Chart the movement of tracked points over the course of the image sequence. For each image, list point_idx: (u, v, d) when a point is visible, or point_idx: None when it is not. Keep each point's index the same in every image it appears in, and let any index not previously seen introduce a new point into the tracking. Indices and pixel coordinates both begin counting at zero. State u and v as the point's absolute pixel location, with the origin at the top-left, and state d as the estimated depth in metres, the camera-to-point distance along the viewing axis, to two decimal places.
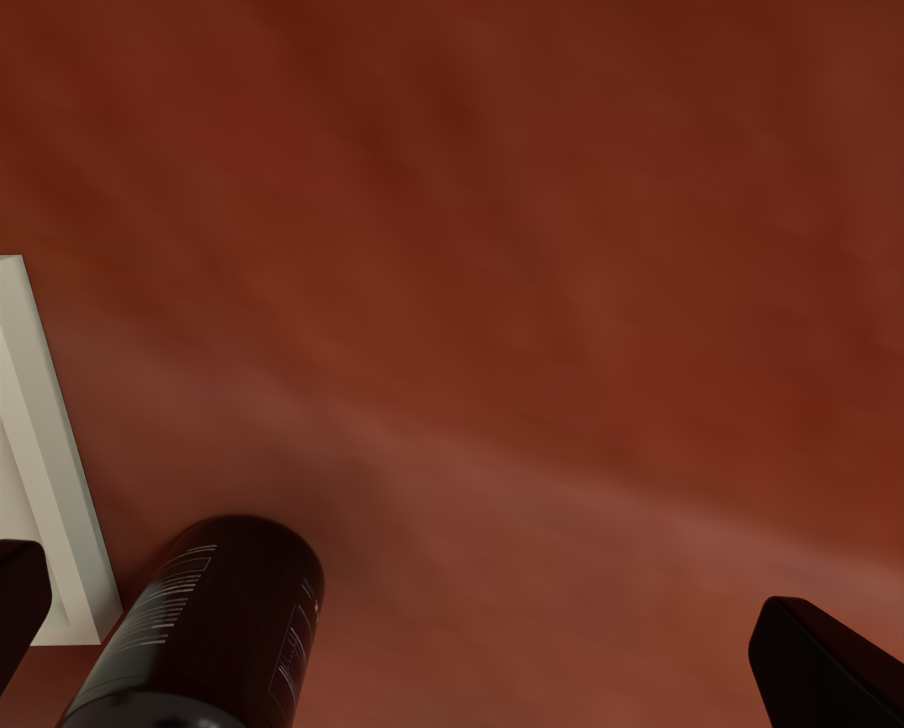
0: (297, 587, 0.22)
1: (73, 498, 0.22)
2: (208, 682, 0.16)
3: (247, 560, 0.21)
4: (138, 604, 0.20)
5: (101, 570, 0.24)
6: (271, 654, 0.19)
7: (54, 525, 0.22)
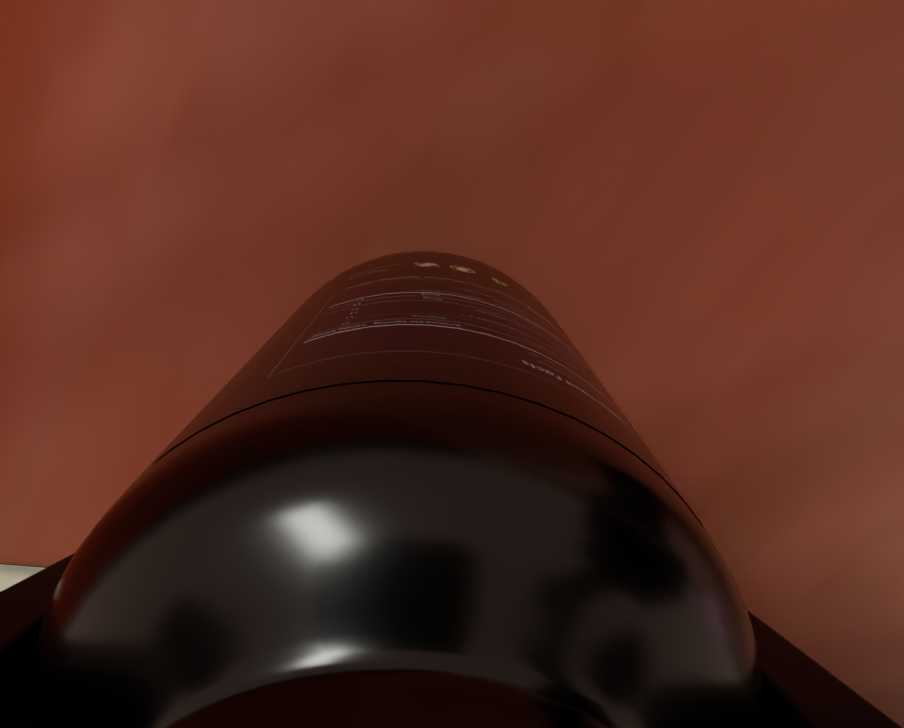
0: (333, 289, 0.10)
1: None
2: None
3: None
4: None
5: None
6: (270, 355, 0.07)
7: None
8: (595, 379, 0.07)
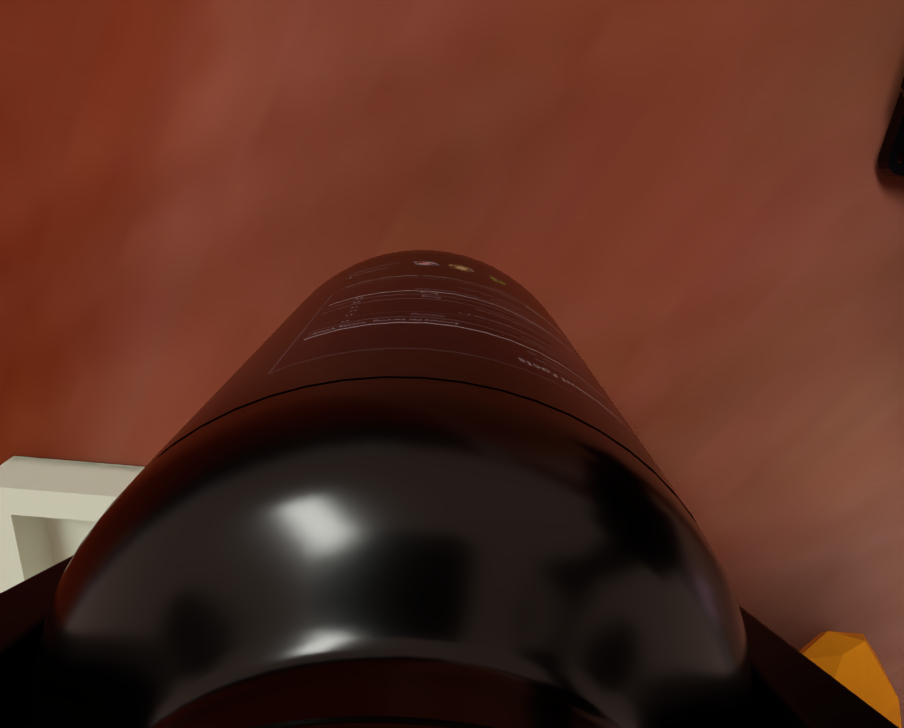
0: (333, 287, 0.10)
1: None
2: None
3: None
4: None
5: None
6: (270, 352, 0.07)
7: None
8: (591, 377, 0.08)
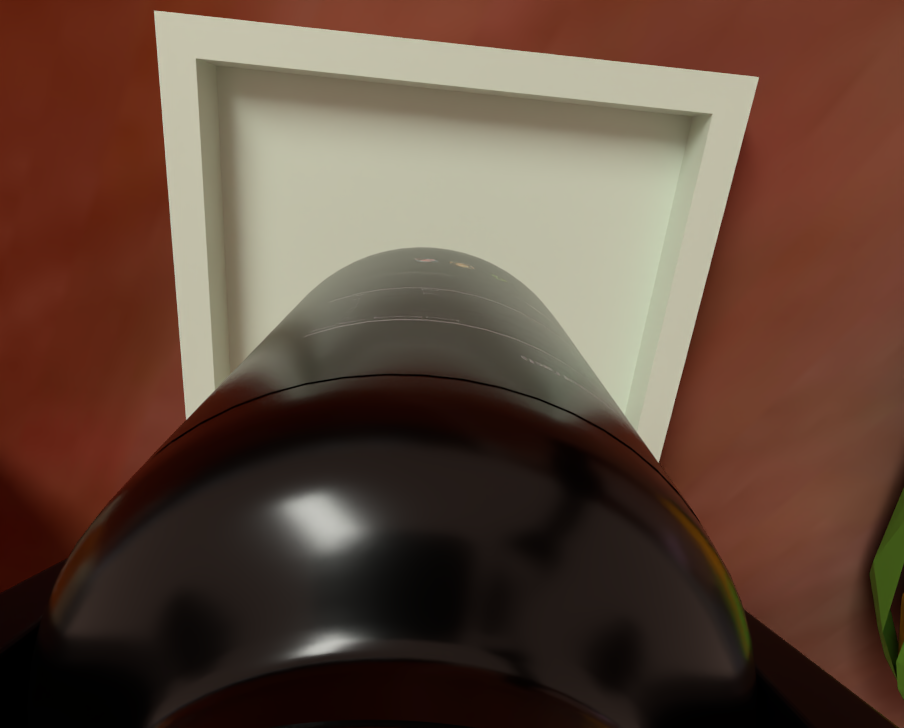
0: (333, 284, 0.10)
1: None
2: None
3: None
4: None
5: None
6: (270, 348, 0.07)
7: (534, 67, 0.15)
8: (593, 375, 0.08)
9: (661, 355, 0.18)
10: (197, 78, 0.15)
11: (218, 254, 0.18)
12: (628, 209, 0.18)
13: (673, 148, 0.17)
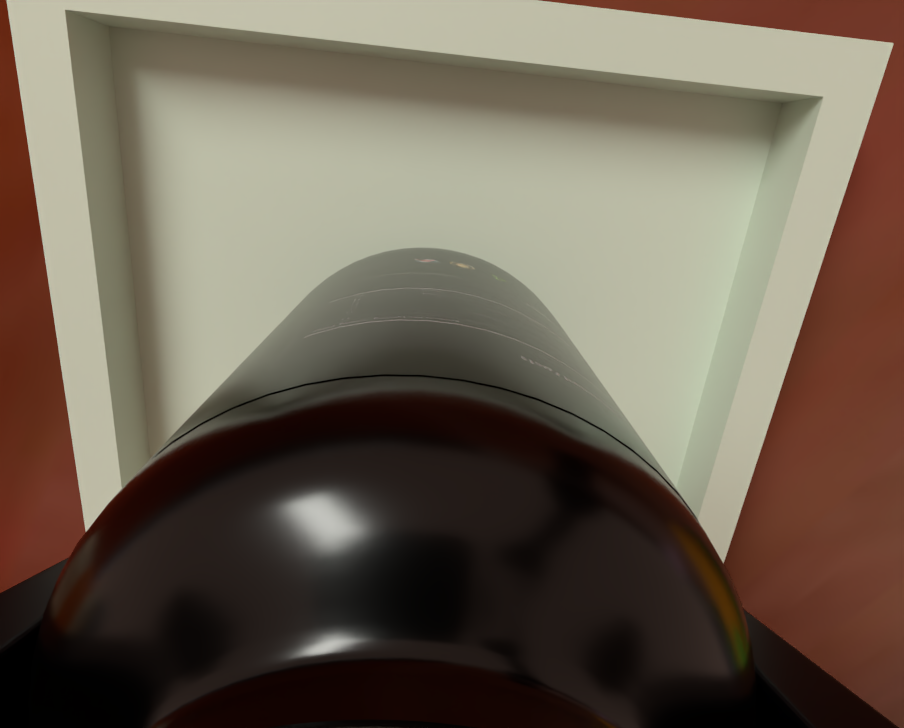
0: (333, 285, 0.10)
1: None
2: None
3: None
4: None
5: None
6: (271, 350, 0.07)
7: (567, 26, 0.10)
8: (593, 375, 0.08)
9: (732, 430, 0.13)
10: (69, 40, 0.10)
11: (121, 292, 0.13)
12: (689, 231, 0.13)
13: (753, 147, 0.12)
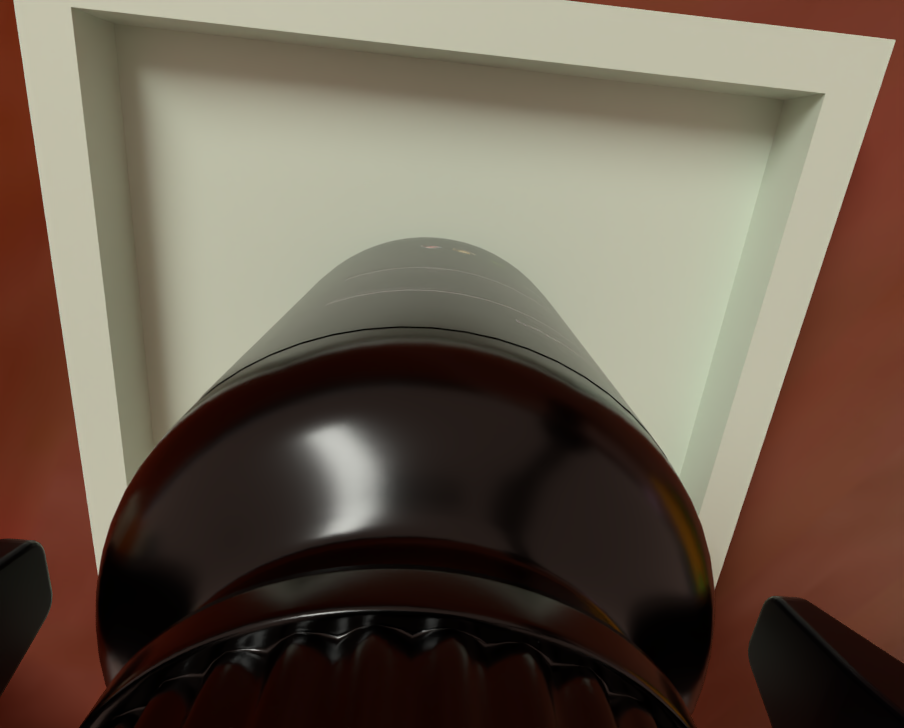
0: (345, 268, 0.10)
1: None
2: None
3: None
4: None
5: None
6: (294, 317, 0.07)
7: (570, 23, 0.10)
8: (581, 345, 0.08)
9: (734, 426, 0.13)
10: (75, 37, 0.10)
11: (126, 288, 0.13)
12: (690, 228, 0.13)
13: (755, 144, 0.12)
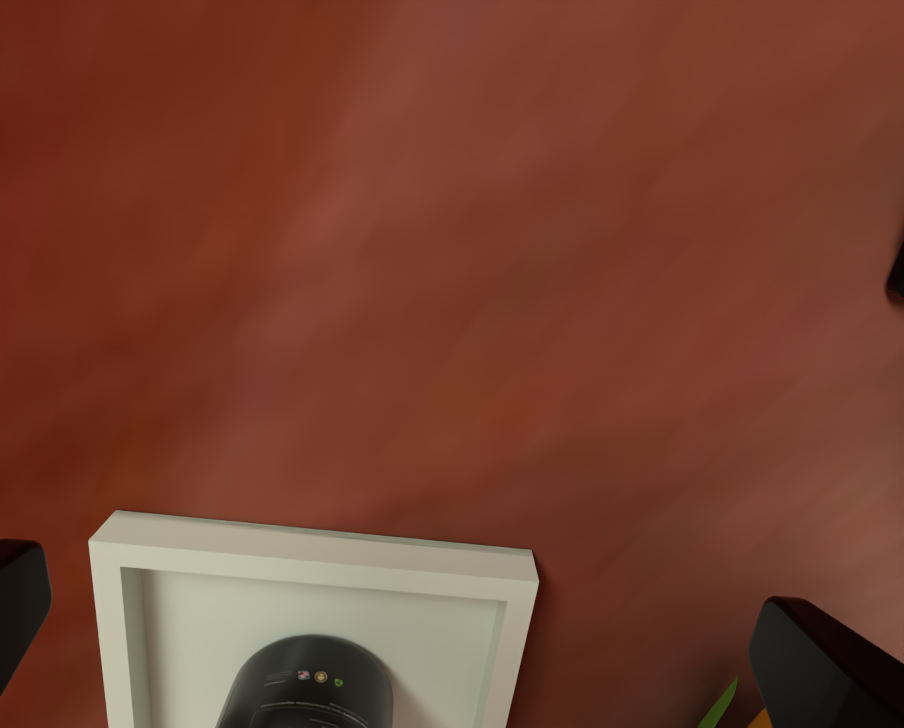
0: (257, 693, 0.21)
1: (360, 549, 0.21)
2: None
3: (216, 726, 0.21)
4: None
5: (461, 553, 0.22)
6: None
7: (373, 574, 0.20)
8: None
9: None
10: (121, 576, 0.20)
11: (140, 659, 0.23)
12: (460, 627, 0.23)
13: None
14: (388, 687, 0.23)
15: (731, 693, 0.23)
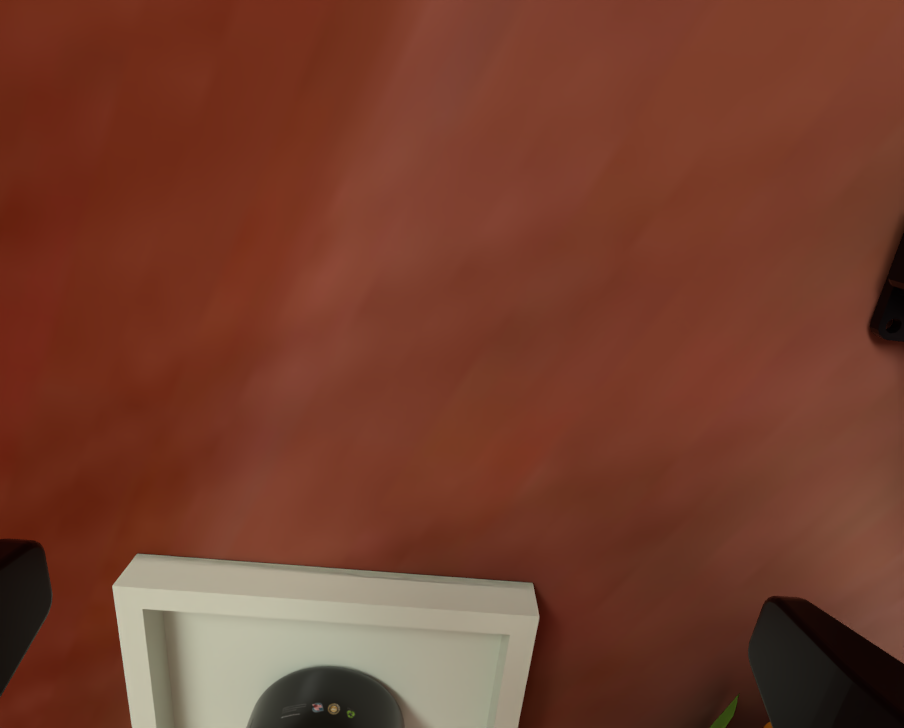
0: (274, 726, 0.22)
1: (368, 587, 0.22)
2: None
3: None
4: None
5: (464, 588, 0.23)
6: None
7: (381, 612, 0.21)
8: None
9: None
10: (144, 617, 0.22)
11: (164, 691, 0.24)
12: (466, 657, 0.24)
13: None
14: (399, 715, 0.24)
15: (730, 712, 0.24)
